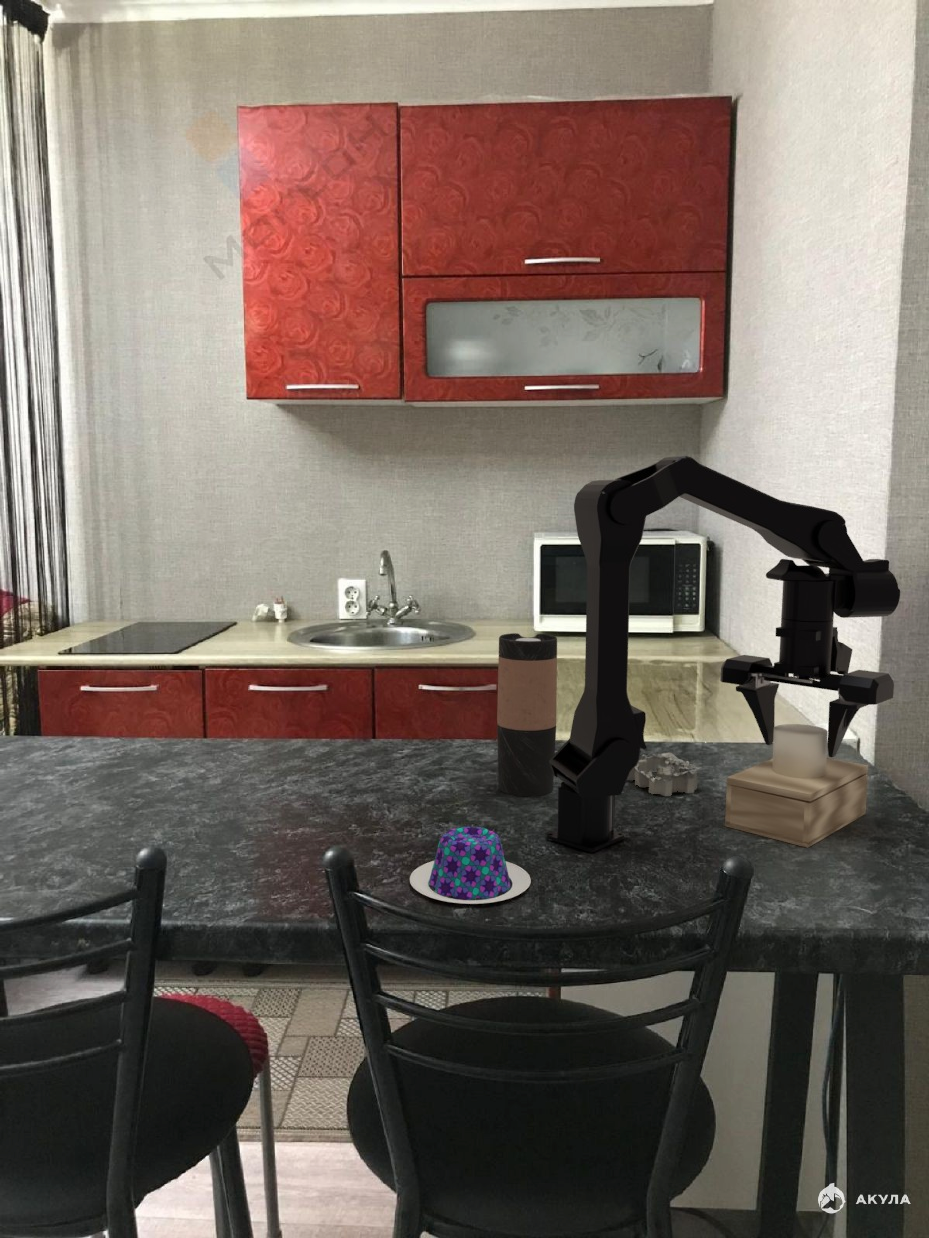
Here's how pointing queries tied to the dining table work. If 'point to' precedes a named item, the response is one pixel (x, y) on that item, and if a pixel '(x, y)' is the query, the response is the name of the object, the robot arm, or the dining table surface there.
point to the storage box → (795, 812)
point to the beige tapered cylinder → (799, 751)
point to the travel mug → (526, 713)
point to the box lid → (797, 779)
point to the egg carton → (665, 774)
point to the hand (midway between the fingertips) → (800, 750)
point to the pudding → (470, 869)
